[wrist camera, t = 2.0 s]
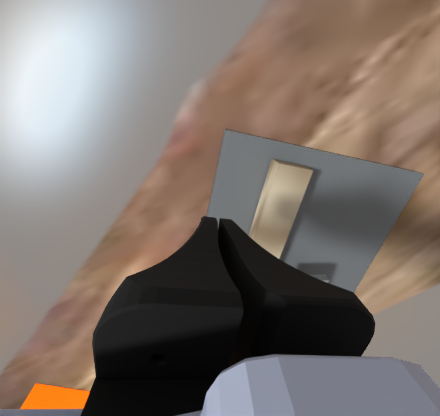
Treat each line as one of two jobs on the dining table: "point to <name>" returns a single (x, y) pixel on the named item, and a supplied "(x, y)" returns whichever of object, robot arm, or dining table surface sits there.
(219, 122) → the dining table surface
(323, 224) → the board
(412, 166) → the dining table surface
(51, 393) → the orange juice
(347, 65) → the dining table surface
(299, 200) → the link
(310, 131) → the dining table surface
